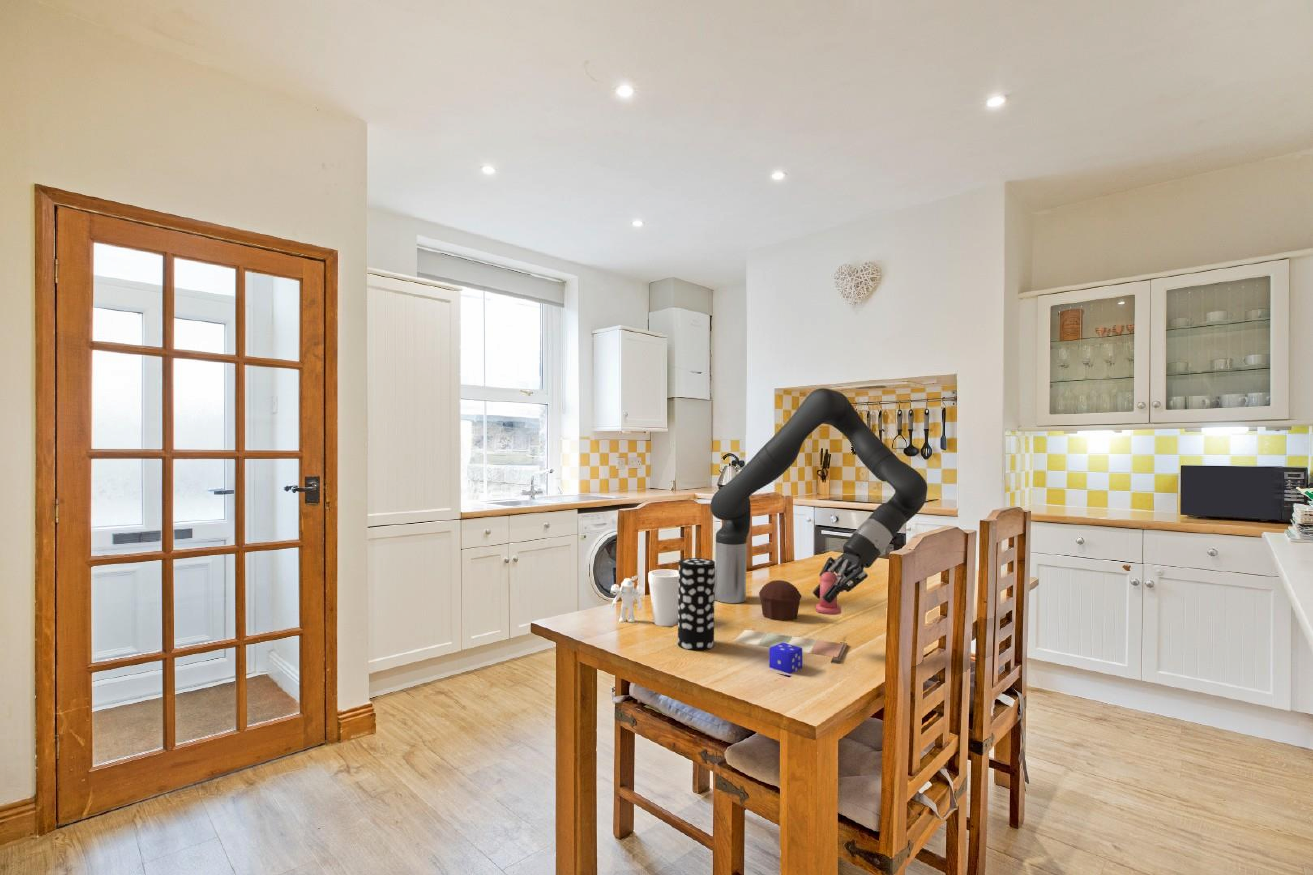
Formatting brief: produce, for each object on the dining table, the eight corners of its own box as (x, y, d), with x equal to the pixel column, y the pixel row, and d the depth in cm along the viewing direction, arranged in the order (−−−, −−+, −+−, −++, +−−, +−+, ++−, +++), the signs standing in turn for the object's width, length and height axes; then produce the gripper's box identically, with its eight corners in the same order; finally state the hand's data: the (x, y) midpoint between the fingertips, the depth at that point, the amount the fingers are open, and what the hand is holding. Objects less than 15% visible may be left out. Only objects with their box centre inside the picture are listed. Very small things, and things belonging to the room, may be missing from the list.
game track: (728, 646, 147) (728, 642, 147) (744, 630, 159) (744, 627, 159) (839, 663, 137) (839, 659, 137) (847, 645, 149) (847, 642, 149)
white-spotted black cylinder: (717, 653, 143) (719, 564, 143) (681, 655, 141) (682, 565, 141) (708, 641, 151) (709, 557, 151) (674, 642, 149) (675, 558, 149)
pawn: (813, 612, 143) (814, 573, 143) (818, 606, 148) (818, 568, 148) (839, 616, 141) (839, 575, 141) (842, 609, 146) (843, 570, 146)
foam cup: (642, 625, 163) (642, 574, 163) (655, 615, 171) (656, 568, 171) (677, 629, 159) (677, 578, 159) (688, 620, 168) (689, 571, 168)
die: (768, 671, 132) (769, 647, 132) (782, 665, 136) (782, 642, 136) (789, 677, 129) (789, 653, 129) (802, 671, 132) (802, 647, 132)
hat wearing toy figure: (644, 619, 168) (645, 574, 168) (642, 623, 164) (642, 577, 164) (611, 617, 170) (612, 572, 169) (608, 621, 166) (608, 575, 166)
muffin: (751, 614, 174) (752, 577, 174) (787, 611, 177) (788, 576, 177) (771, 626, 163) (771, 588, 163) (809, 623, 166) (809, 585, 166)
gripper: (840, 527, 153) (795, 580, 150) (876, 536, 140) (826, 594, 136) (859, 548, 155) (815, 601, 151) (896, 559, 141) (848, 617, 138)
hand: (821, 597), depth 144 cm, fingers closed on pawn, 3 cm apart
